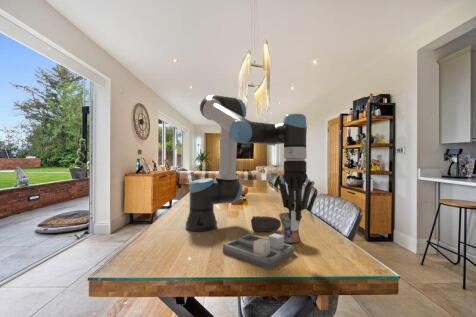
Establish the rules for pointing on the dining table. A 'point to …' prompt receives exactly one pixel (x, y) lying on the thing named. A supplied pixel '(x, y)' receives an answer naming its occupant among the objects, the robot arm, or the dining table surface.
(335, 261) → the dining table surface
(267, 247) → the off-white cube
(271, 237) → the pale grey cube
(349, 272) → the dining table surface
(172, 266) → the dining table surface
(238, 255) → the gray divided tray
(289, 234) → the mug
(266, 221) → the perforated stone tool
